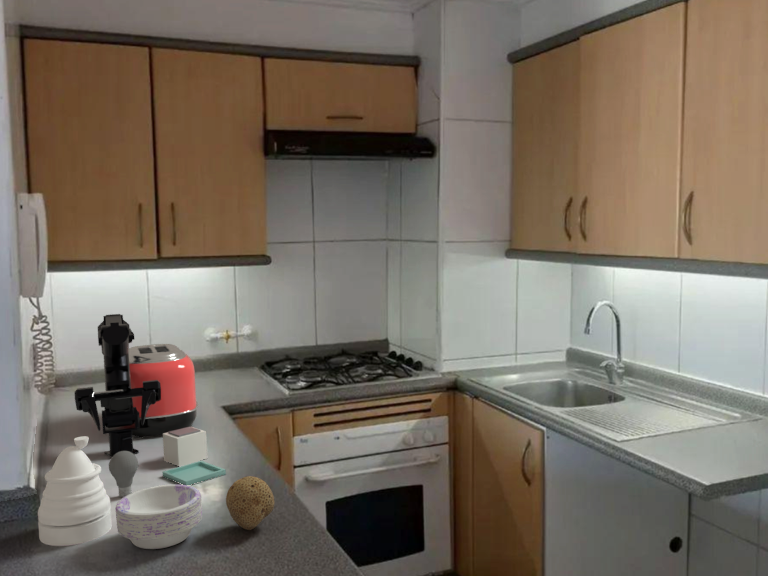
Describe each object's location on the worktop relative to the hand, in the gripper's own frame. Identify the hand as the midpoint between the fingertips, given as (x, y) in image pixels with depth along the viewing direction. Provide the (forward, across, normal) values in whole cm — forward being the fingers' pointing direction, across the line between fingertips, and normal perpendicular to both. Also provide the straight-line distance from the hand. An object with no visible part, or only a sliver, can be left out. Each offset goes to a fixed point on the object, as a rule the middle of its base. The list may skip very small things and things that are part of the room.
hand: (121, 426), depth 163 cm
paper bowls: (+34, -6, +16) cm, 38 cm away
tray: (+11, -15, -8) cm, 20 cm away
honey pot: (+26, +9, +8) cm, 29 cm away
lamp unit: (+2, -14, -18) cm, 23 cm away
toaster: (-24, -10, -46) cm, 53 cm away
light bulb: (+16, 0, -3) cm, 16 cm away
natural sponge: (+35, -22, +17) cm, 45 cm away
